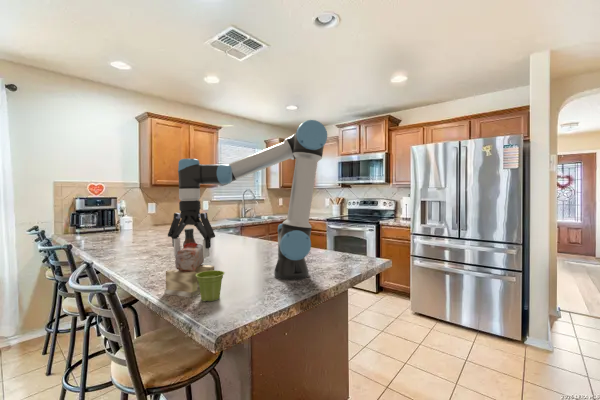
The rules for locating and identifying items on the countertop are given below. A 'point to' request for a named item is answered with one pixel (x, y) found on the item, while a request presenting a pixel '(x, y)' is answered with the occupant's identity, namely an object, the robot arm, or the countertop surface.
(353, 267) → the countertop surface
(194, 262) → the food item
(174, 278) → the stand
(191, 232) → the sauce bottle
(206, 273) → the plant pot
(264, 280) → the countertop surface
